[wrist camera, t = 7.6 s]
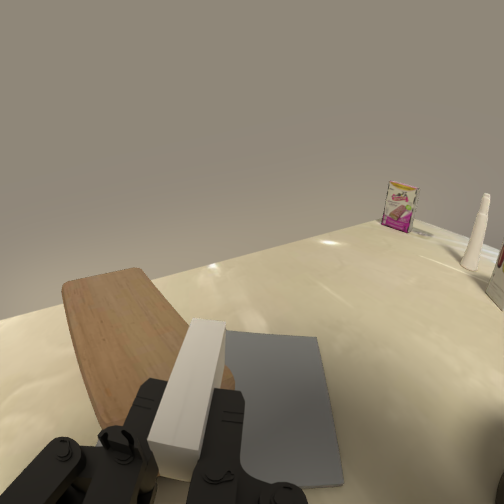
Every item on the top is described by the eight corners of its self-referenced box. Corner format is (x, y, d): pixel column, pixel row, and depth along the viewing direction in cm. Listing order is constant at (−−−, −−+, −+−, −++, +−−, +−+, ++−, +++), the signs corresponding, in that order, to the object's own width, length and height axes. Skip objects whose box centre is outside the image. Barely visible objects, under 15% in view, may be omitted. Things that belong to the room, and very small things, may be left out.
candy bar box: (380, 224, 102) (388, 180, 96) (385, 222, 105) (392, 180, 99) (408, 233, 95) (417, 188, 88) (411, 231, 98) (420, 187, 92)
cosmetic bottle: (466, 270, 67) (486, 194, 59) (456, 262, 73) (474, 189, 65) (480, 272, 67) (500, 198, 59) (470, 263, 73) (487, 193, 65)
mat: (315, 340, 39) (316, 336, 39) (342, 485, 19) (344, 483, 19) (156, 324, 40) (156, 321, 39) (94, 456, 19) (92, 453, 19)
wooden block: (135, 489, 17) (77, 350, 31) (235, 445, 23) (147, 331, 37) (99, 426, 13) (58, 279, 27) (242, 373, 19) (140, 262, 33)
